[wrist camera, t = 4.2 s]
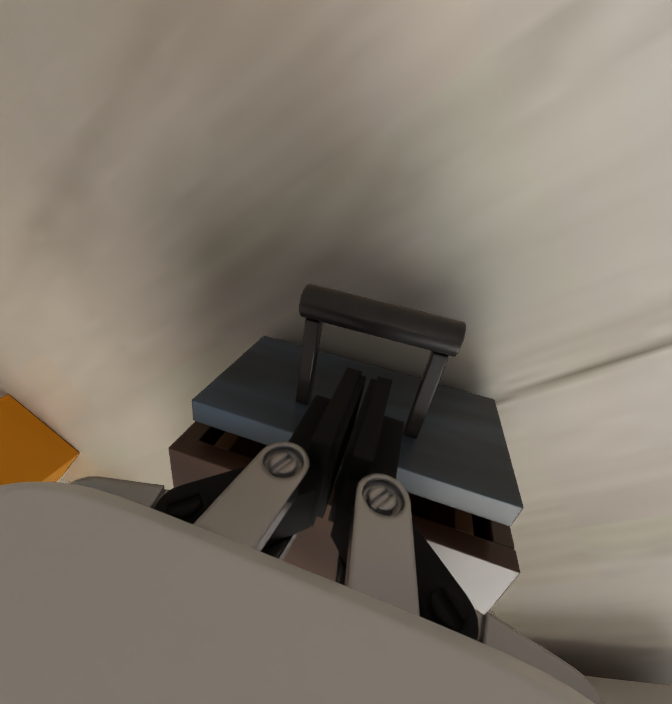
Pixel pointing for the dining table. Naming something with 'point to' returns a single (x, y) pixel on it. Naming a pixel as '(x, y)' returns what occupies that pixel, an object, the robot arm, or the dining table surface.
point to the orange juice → (30, 447)
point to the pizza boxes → (630, 691)
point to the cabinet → (315, 542)
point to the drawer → (403, 404)
